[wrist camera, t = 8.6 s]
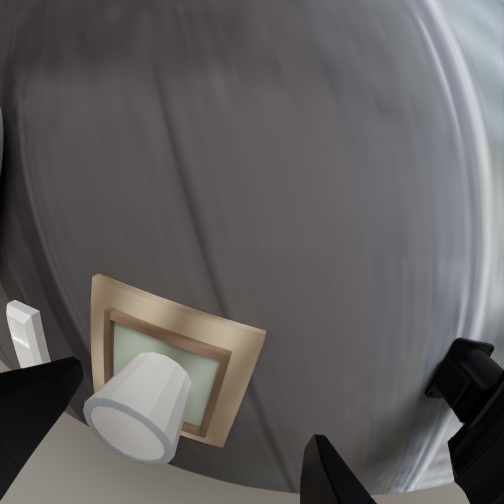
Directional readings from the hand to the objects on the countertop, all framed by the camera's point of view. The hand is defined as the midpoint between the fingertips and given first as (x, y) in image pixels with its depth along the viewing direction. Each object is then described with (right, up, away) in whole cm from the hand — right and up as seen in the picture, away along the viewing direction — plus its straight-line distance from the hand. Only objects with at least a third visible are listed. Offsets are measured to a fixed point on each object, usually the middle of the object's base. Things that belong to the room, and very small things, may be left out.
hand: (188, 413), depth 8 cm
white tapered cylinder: (-5, -5, +12) cm, 14 cm away
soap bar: (-23, -4, +15) cm, 28 cm away
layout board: (-5, -5, +13) cm, 15 cm away
